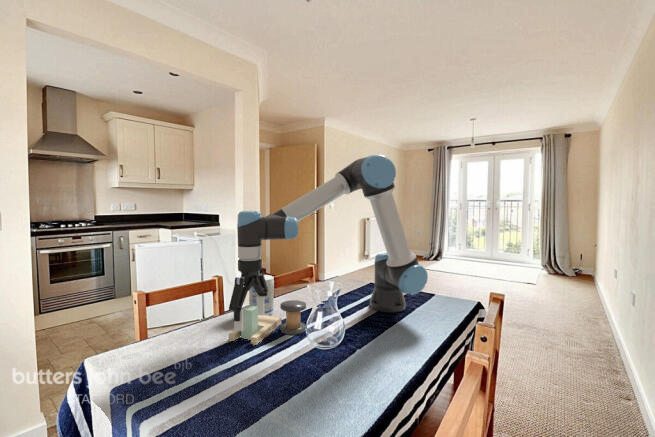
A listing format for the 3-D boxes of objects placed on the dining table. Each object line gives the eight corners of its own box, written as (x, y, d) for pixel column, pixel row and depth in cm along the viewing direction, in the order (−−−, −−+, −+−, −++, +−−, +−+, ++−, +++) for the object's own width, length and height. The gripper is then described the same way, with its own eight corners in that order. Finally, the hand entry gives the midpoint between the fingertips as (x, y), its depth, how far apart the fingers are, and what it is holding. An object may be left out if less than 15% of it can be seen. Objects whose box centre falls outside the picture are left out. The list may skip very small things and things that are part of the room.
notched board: (257, 320, 119) (257, 314, 119) (281, 323, 116) (281, 317, 116) (228, 341, 102) (228, 333, 101) (256, 345, 99) (256, 338, 99)
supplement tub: (251, 319, 120) (251, 281, 119) (247, 311, 129) (247, 275, 128) (276, 316, 124) (276, 279, 123) (270, 308, 132) (271, 273, 131)
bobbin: (286, 322, 117) (286, 299, 116) (309, 326, 114) (309, 301, 114) (275, 332, 108) (275, 307, 108) (300, 336, 106) (300, 310, 105)
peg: (247, 334, 107) (247, 305, 106) (258, 335, 106) (258, 306, 105) (241, 339, 103) (240, 309, 103) (252, 340, 102) (251, 310, 101)
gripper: (258, 251, 116) (259, 308, 117) (215, 265, 92) (216, 336, 93) (277, 252, 113) (277, 310, 115) (238, 267, 90) (239, 339, 91)
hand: (250, 322), depth 104 cm, fingers open, 13 cm apart
